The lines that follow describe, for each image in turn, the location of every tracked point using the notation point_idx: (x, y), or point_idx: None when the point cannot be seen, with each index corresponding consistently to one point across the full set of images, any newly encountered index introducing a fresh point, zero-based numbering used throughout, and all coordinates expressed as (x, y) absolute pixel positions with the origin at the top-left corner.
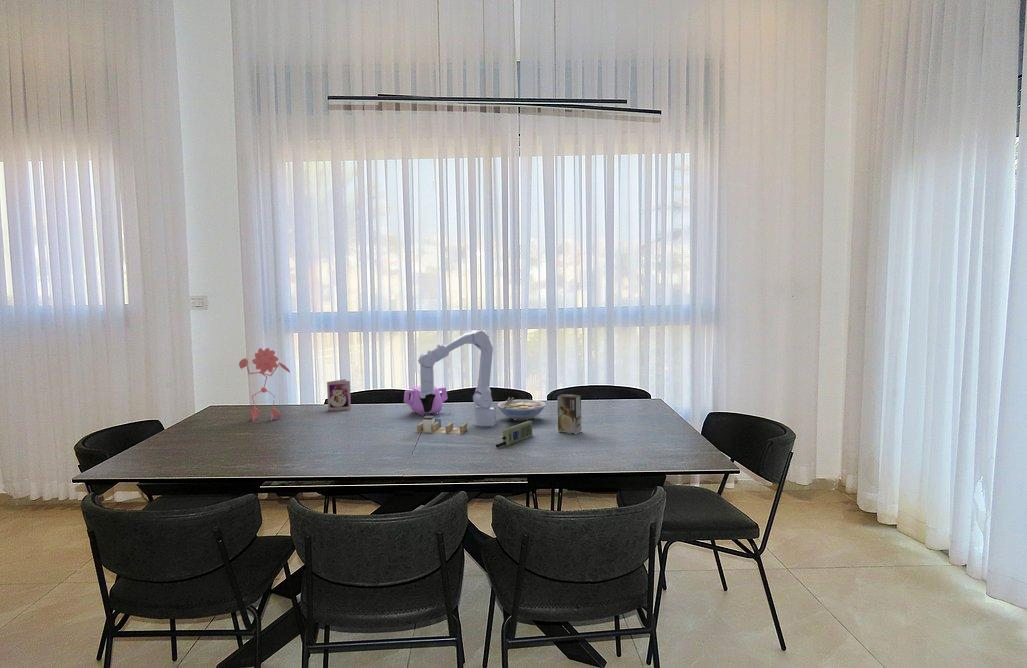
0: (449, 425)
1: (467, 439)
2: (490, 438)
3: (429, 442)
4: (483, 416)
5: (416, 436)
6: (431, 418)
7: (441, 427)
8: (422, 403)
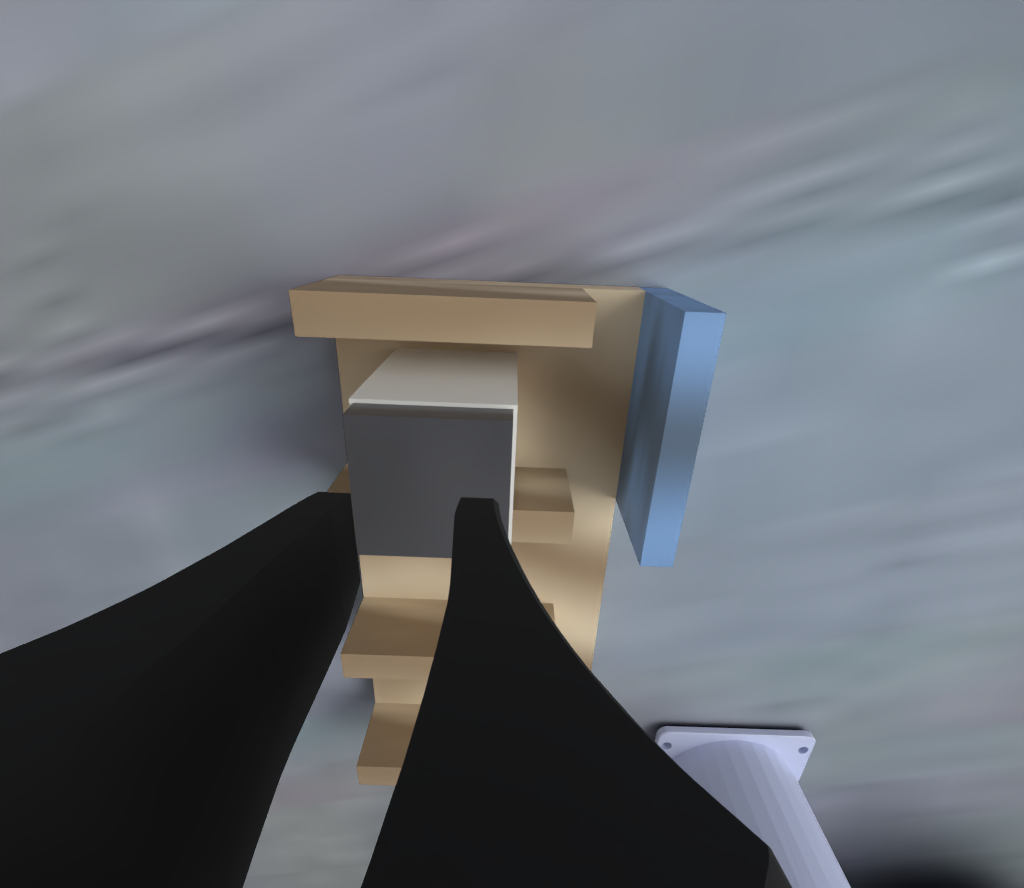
0: (401, 676)
1: None
2: (353, 845)
3: (63, 504)
4: None
5: (244, 294)
6: (361, 545)
7: (608, 508)
8: (78, 634)
